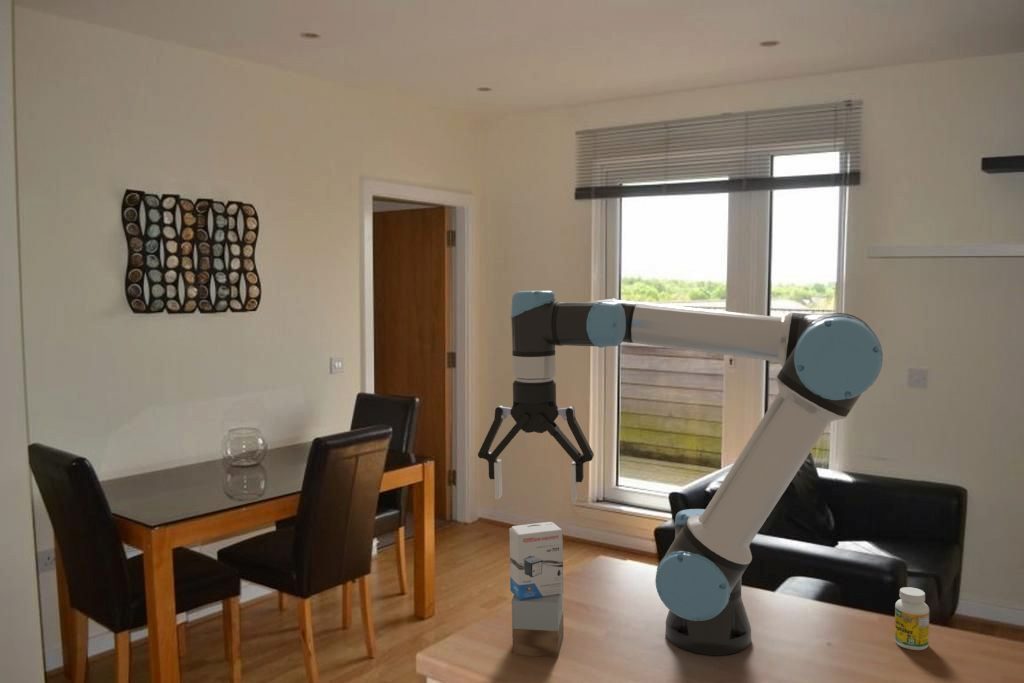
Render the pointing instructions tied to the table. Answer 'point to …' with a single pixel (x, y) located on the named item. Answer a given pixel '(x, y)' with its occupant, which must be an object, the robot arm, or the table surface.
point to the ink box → (536, 560)
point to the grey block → (537, 613)
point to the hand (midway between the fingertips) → (536, 498)
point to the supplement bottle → (912, 619)
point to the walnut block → (538, 641)
